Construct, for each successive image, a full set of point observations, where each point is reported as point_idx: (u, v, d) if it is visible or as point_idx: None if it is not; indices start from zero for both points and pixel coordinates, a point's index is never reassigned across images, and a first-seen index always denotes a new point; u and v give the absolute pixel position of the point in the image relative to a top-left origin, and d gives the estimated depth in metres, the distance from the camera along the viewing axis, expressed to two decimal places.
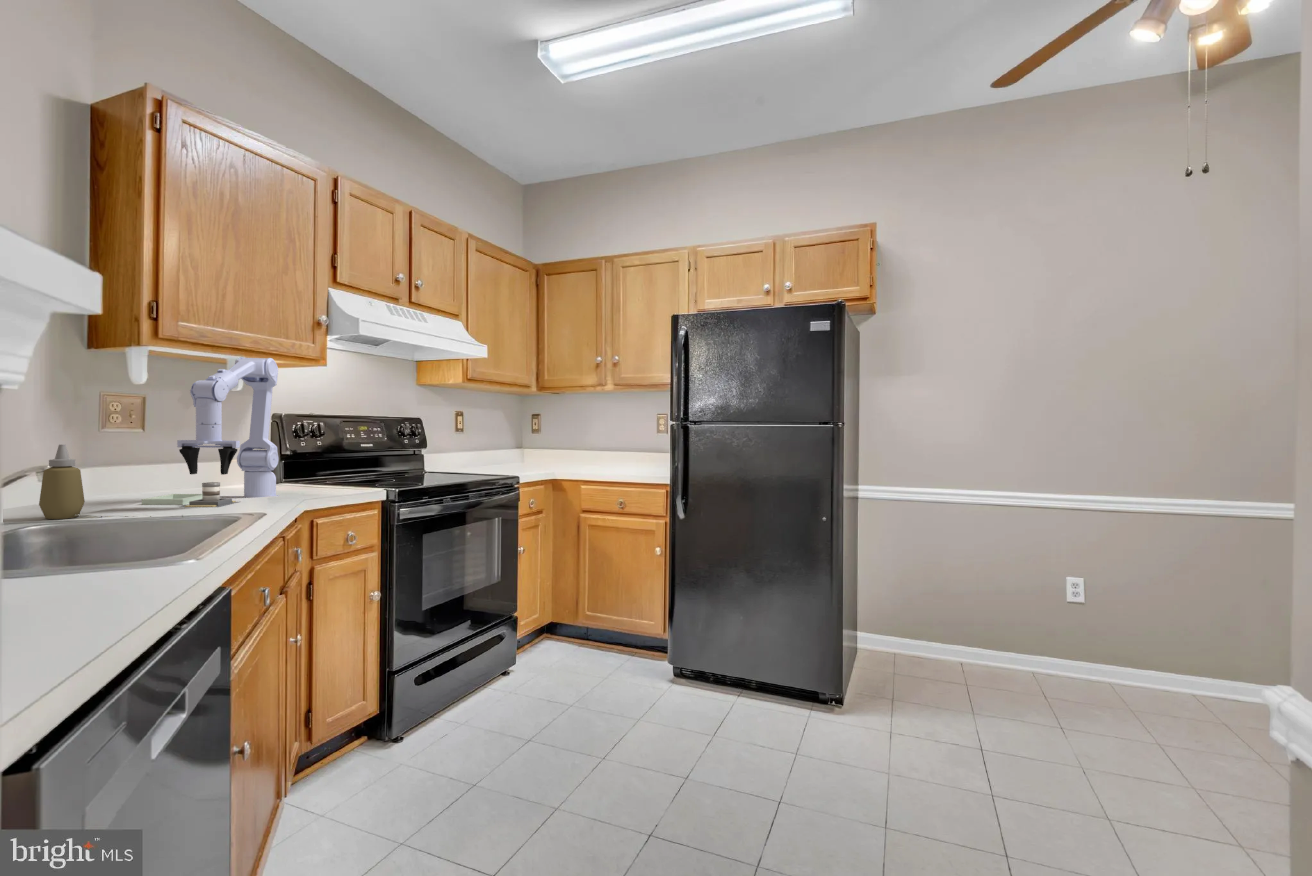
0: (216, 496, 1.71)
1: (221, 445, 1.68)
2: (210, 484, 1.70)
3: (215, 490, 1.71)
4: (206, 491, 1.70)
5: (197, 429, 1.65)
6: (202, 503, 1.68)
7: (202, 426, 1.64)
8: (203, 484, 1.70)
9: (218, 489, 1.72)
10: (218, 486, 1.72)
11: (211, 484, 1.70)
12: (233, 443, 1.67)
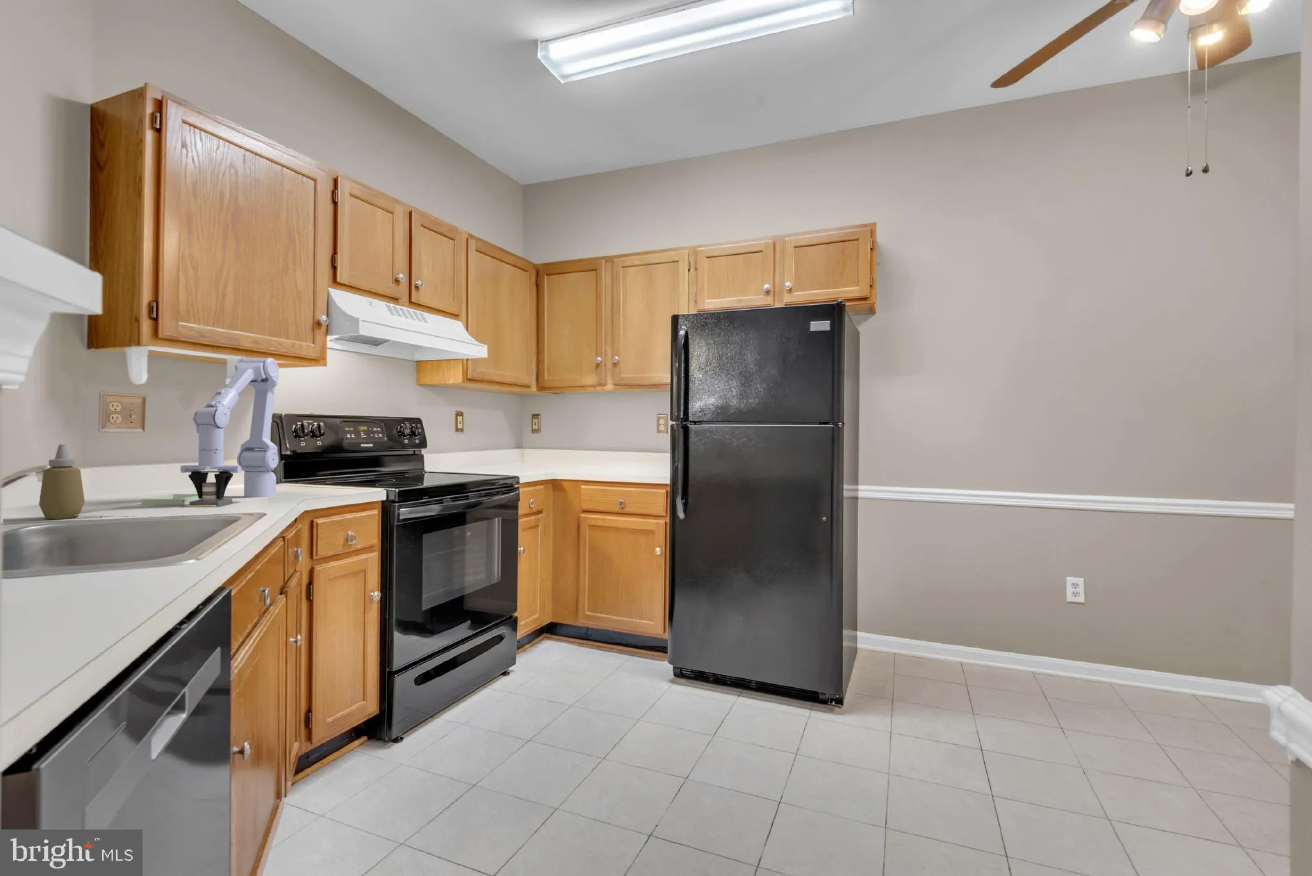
0: (216, 496, 1.71)
1: (223, 470, 1.72)
2: (210, 484, 1.70)
3: (215, 490, 1.71)
4: (206, 491, 1.70)
5: (200, 455, 1.69)
6: (202, 503, 1.68)
7: (205, 452, 1.69)
8: (203, 484, 1.70)
9: None
10: None
11: (211, 484, 1.70)
12: (235, 468, 1.72)
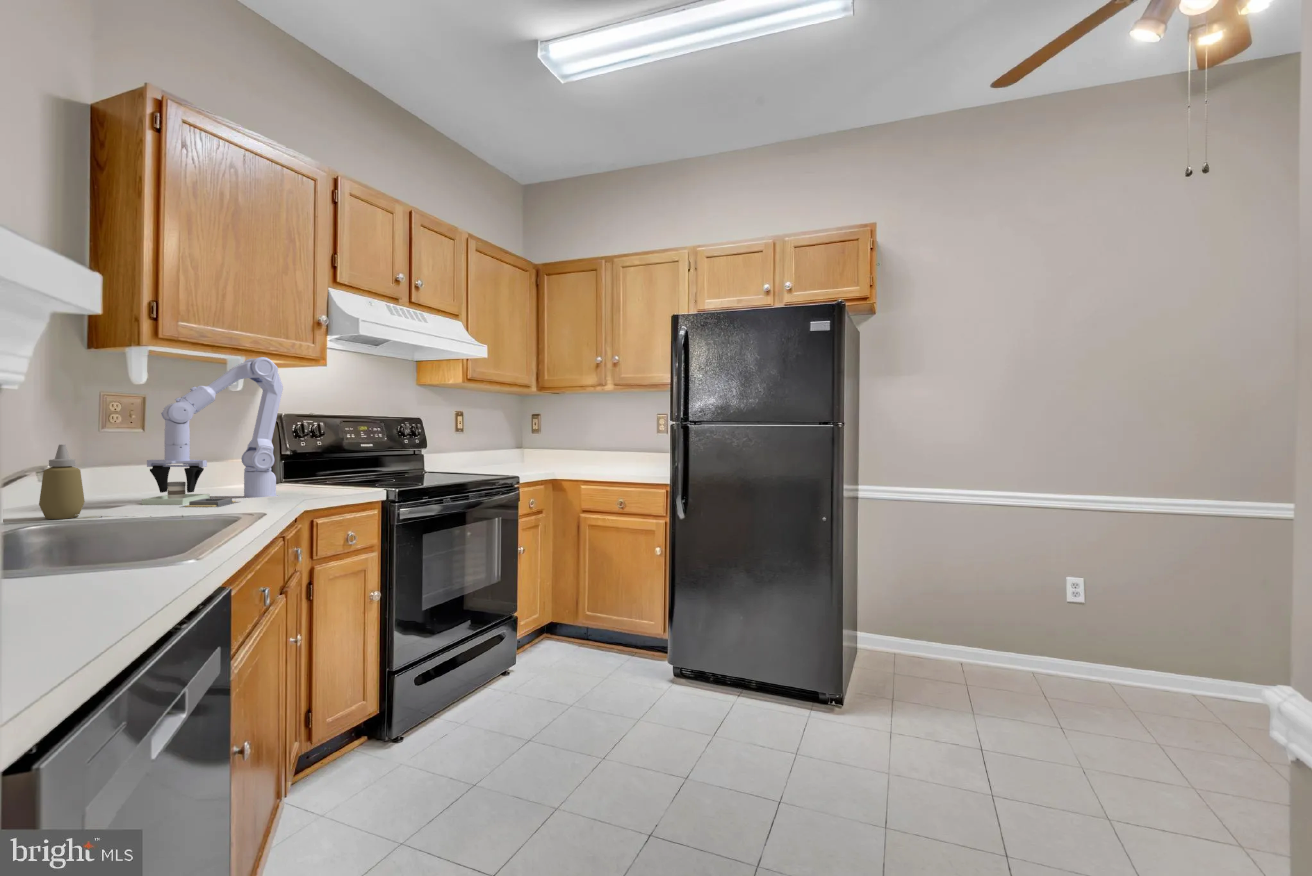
0: (182, 495, 1.75)
1: (189, 464, 1.76)
2: (176, 483, 1.74)
3: (181, 489, 1.75)
4: (172, 490, 1.74)
5: (165, 449, 1.73)
6: (202, 503, 1.68)
7: (170, 447, 1.73)
8: (169, 483, 1.74)
9: (184, 488, 1.76)
10: (184, 485, 1.76)
11: (177, 483, 1.74)
12: (200, 462, 1.76)
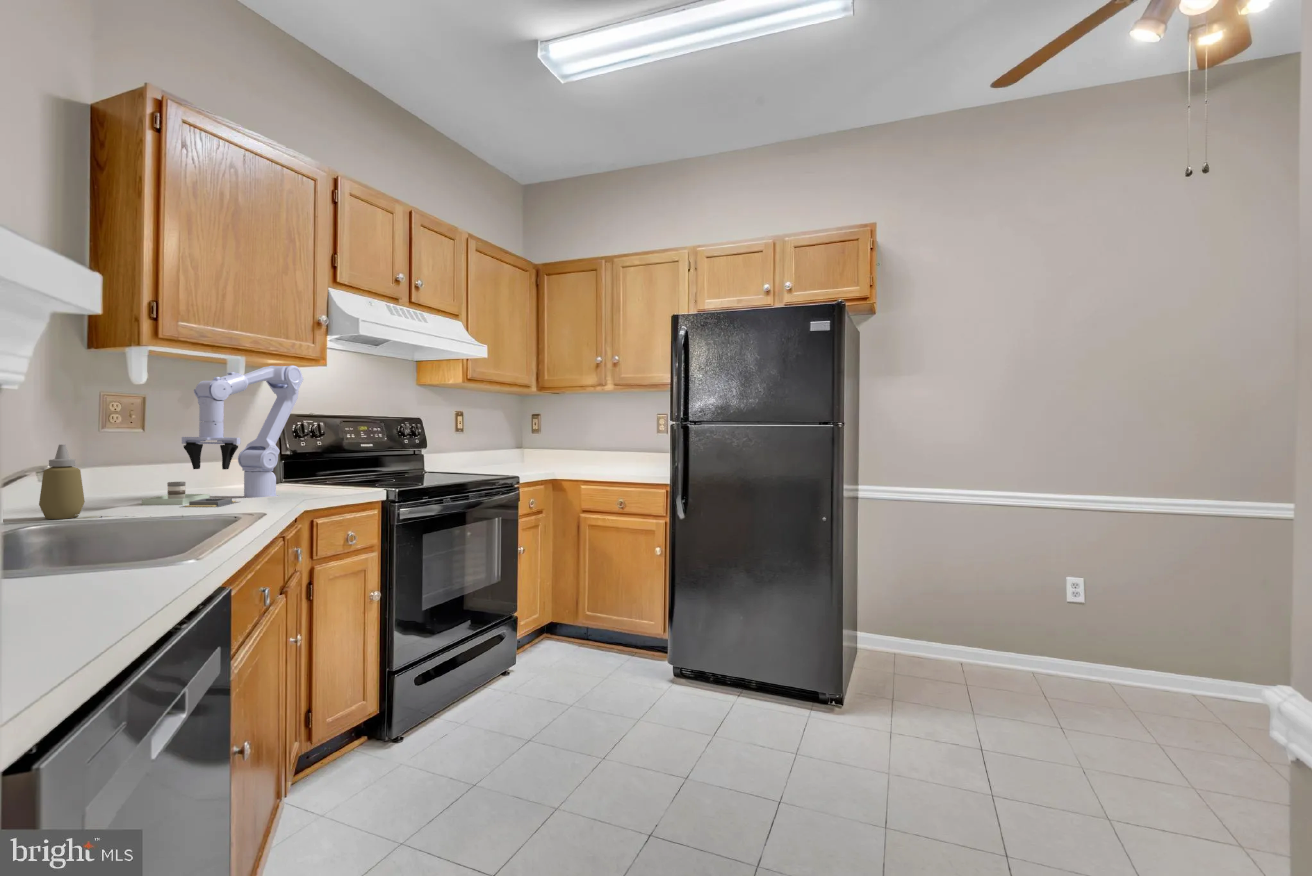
0: (182, 495, 1.75)
1: (223, 442, 1.77)
2: (176, 483, 1.74)
3: (181, 489, 1.75)
4: (172, 490, 1.74)
5: (200, 426, 1.75)
6: (202, 503, 1.68)
7: (205, 423, 1.74)
8: (169, 483, 1.74)
9: (184, 488, 1.76)
10: (184, 485, 1.76)
11: (177, 483, 1.74)
12: (234, 440, 1.77)
